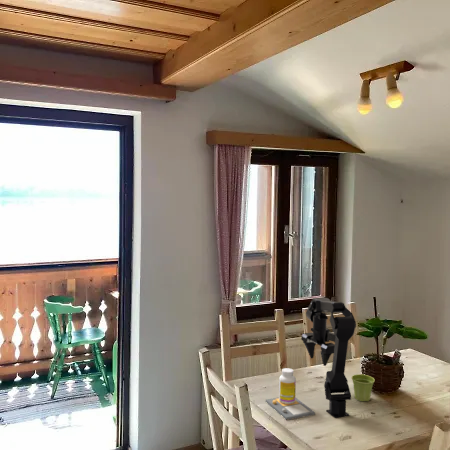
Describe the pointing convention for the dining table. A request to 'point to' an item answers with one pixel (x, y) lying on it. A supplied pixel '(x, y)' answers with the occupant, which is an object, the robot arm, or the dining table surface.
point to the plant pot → (362, 386)
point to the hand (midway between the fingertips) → (318, 361)
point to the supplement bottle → (287, 386)
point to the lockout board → (290, 408)
